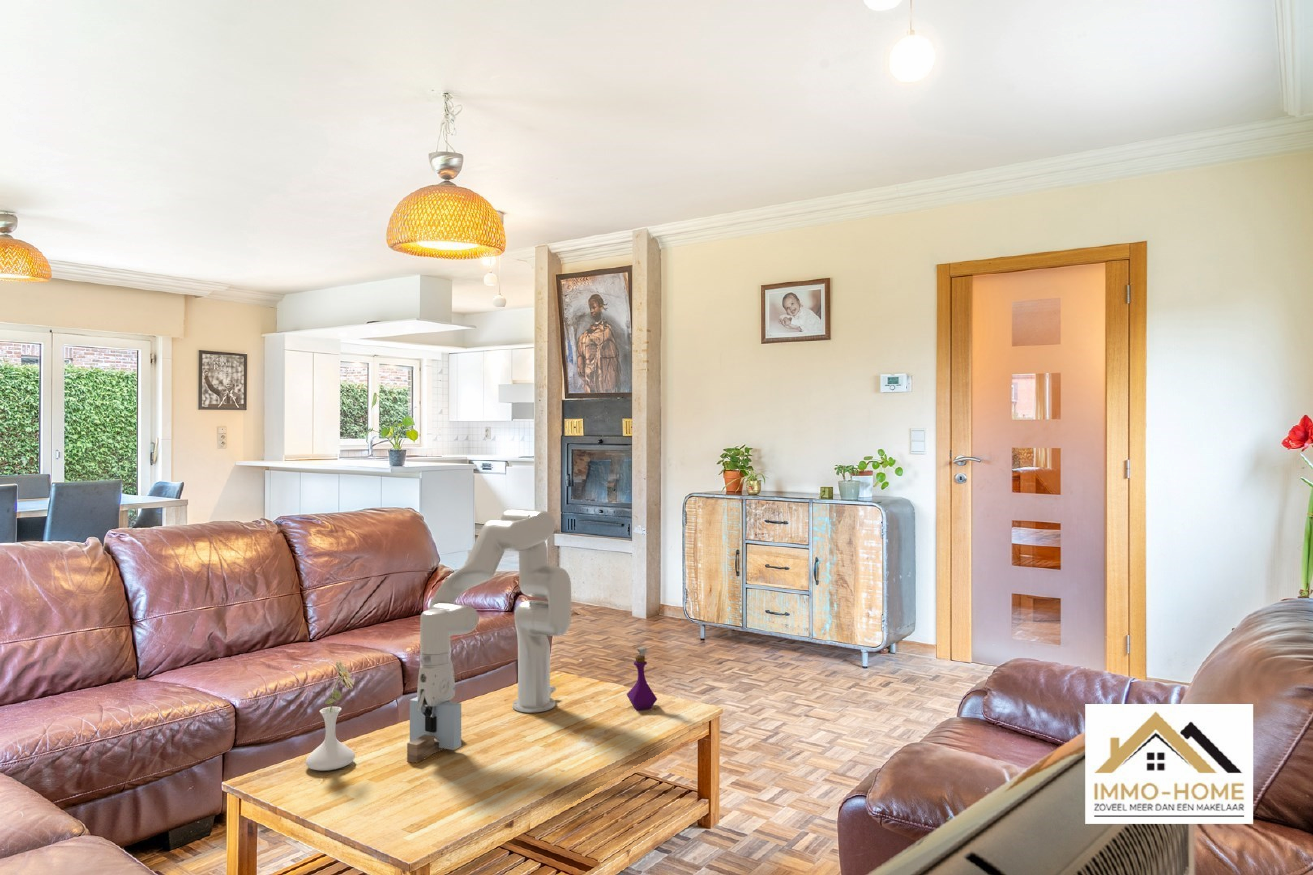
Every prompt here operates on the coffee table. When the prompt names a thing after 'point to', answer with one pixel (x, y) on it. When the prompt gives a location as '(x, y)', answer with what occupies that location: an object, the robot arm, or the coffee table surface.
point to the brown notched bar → (422, 748)
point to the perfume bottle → (641, 686)
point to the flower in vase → (332, 732)
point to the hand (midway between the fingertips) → (435, 728)
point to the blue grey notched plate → (438, 724)
